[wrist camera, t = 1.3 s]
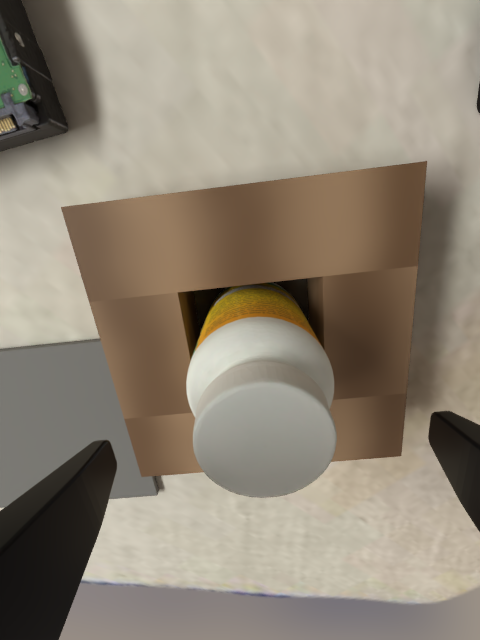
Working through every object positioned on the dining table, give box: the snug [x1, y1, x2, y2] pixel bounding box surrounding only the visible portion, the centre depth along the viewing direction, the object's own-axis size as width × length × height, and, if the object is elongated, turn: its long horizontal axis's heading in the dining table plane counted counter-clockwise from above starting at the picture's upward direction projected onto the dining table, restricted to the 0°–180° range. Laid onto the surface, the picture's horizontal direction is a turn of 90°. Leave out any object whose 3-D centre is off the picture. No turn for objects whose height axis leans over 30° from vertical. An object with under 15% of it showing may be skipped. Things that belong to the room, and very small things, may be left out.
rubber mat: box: [0, 339, 159, 508], centre depth 20 cm, size 12×12×1 cm
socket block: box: [61, 161, 427, 477], centre depth 16 cm, size 14×14×4 cm
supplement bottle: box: [186, 282, 337, 498], centre depth 13 cm, size 5×5×10 cm
